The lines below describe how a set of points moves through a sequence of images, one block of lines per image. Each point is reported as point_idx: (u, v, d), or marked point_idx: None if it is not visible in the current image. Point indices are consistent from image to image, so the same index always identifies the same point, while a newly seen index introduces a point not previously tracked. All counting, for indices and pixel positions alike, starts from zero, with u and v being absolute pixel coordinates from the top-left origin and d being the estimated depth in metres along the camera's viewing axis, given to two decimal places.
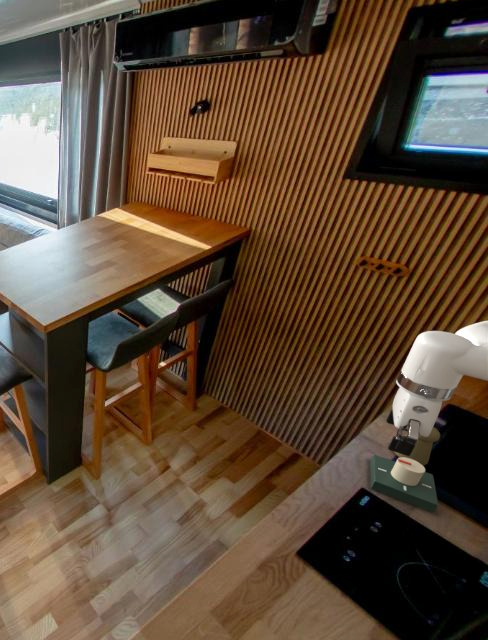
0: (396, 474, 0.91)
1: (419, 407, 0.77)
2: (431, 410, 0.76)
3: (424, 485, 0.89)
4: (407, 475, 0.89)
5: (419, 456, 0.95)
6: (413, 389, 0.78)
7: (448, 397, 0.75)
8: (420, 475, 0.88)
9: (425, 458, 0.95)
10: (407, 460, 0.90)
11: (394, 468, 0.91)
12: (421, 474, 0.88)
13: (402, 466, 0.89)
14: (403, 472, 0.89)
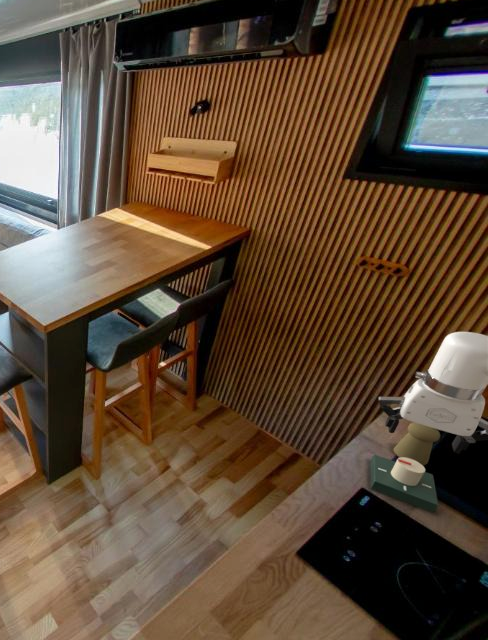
0: (396, 474, 0.91)
1: None
2: (413, 390, 0.82)
3: (424, 485, 0.89)
4: (407, 475, 0.89)
5: (419, 456, 0.95)
6: None
7: (437, 391, 0.78)
8: (420, 475, 0.88)
9: (425, 458, 0.95)
10: (407, 460, 0.90)
11: (394, 468, 0.91)
12: (421, 474, 0.88)
13: (402, 466, 0.89)
14: (403, 472, 0.89)
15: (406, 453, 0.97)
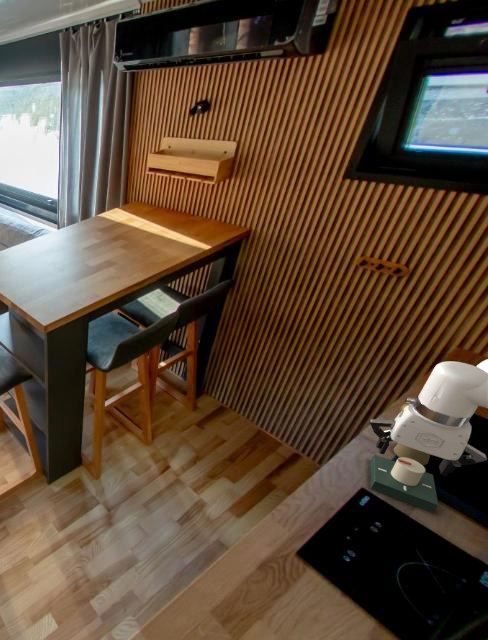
0: (396, 474, 0.91)
1: None
2: (403, 415, 0.85)
3: (424, 485, 0.89)
4: (407, 475, 0.89)
5: (419, 456, 0.95)
6: None
7: (426, 417, 0.81)
8: (420, 475, 0.88)
9: (425, 458, 0.95)
10: (407, 460, 0.90)
11: (394, 468, 0.91)
12: (421, 474, 0.88)
13: (402, 466, 0.89)
14: (403, 472, 0.89)
15: (406, 453, 0.97)
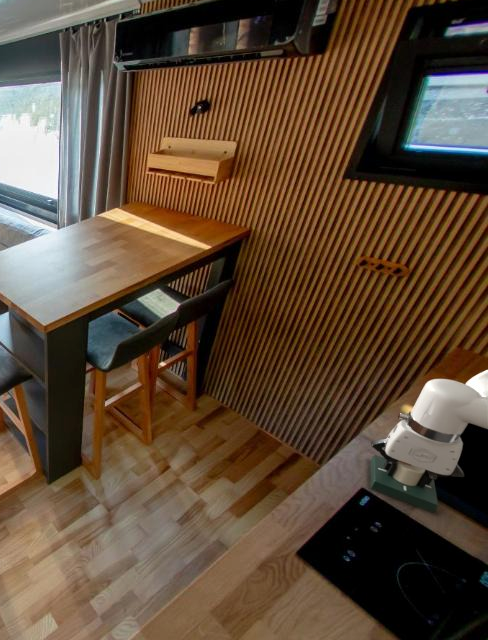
0: (396, 474, 0.91)
1: None
2: (396, 430, 0.87)
3: None
4: (407, 475, 0.89)
5: None
6: None
7: (418, 433, 0.83)
8: (420, 475, 0.88)
9: None
10: None
11: None
12: (421, 474, 0.88)
13: (402, 466, 0.89)
14: (403, 472, 0.89)
15: None
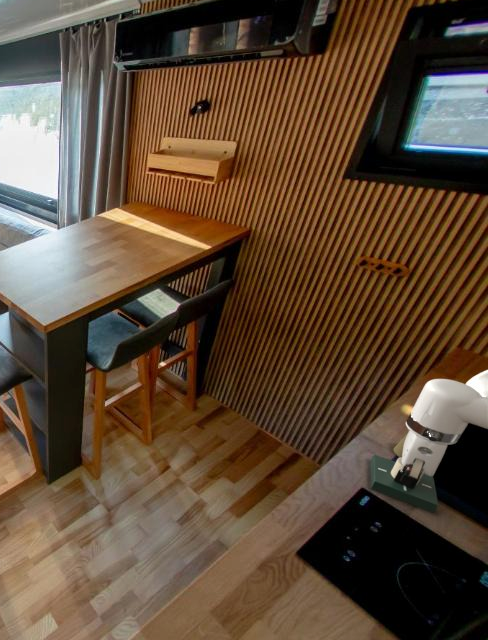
0: None
1: (424, 448, 0.83)
2: (435, 452, 0.82)
3: (424, 485, 0.89)
4: None
5: None
6: (419, 431, 0.83)
7: (453, 441, 0.81)
8: None
9: None
10: None
11: None
12: None
13: None
14: (420, 476, 0.88)
15: None
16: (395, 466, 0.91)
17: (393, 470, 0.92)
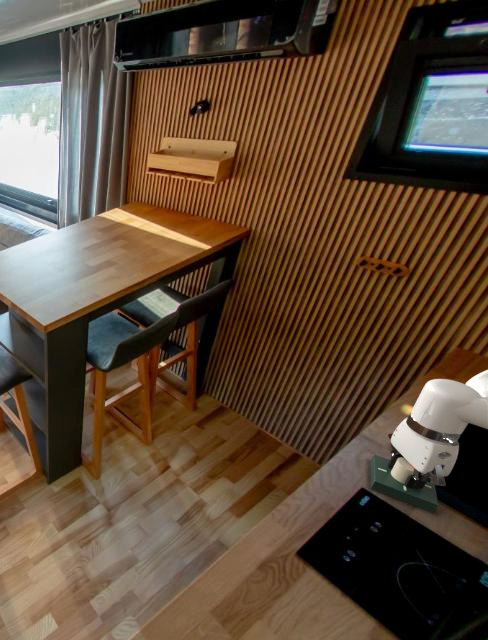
0: None
1: (442, 453, 0.82)
2: (453, 454, 0.81)
3: None
4: None
5: None
6: (435, 437, 0.81)
7: None
8: None
9: None
10: (407, 466, 0.89)
11: None
12: None
13: None
14: None
15: None
16: (400, 471, 0.90)
17: (398, 475, 0.91)
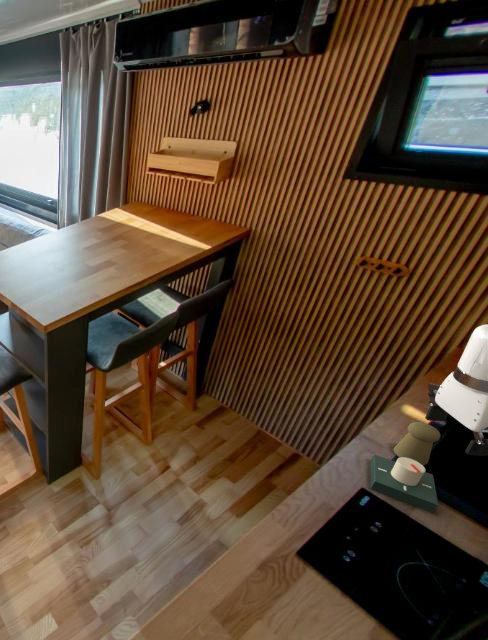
0: (419, 480, 0.89)
1: None
2: None
3: (424, 485, 0.89)
4: None
5: (419, 456, 0.95)
6: None
7: None
8: None
9: (425, 458, 0.95)
10: (407, 466, 0.89)
11: (417, 479, 0.88)
12: None
13: (424, 470, 0.88)
14: None
15: (406, 453, 0.97)
16: (400, 471, 0.90)
17: (398, 475, 0.91)
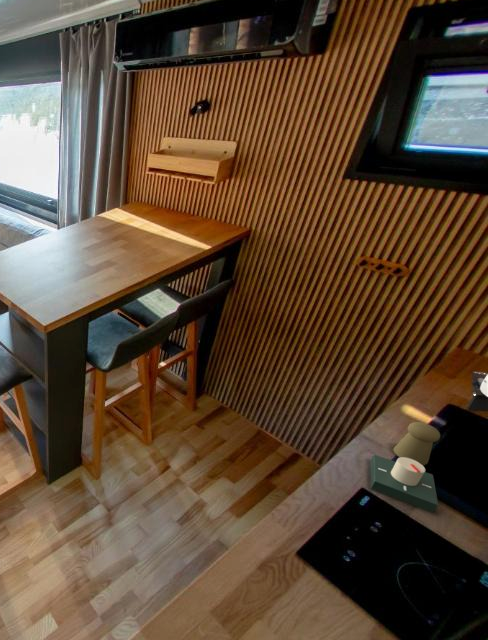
0: (419, 480, 0.89)
1: None
2: None
3: (424, 485, 0.89)
4: None
5: (419, 456, 0.95)
6: None
7: None
8: None
9: (425, 458, 0.95)
10: (407, 466, 0.89)
11: (417, 479, 0.88)
12: None
13: (424, 470, 0.88)
14: None
15: (406, 453, 0.97)
16: (400, 471, 0.90)
17: (398, 475, 0.91)
